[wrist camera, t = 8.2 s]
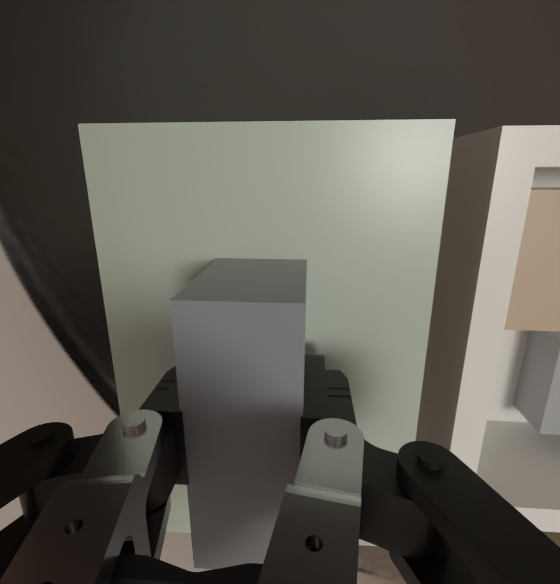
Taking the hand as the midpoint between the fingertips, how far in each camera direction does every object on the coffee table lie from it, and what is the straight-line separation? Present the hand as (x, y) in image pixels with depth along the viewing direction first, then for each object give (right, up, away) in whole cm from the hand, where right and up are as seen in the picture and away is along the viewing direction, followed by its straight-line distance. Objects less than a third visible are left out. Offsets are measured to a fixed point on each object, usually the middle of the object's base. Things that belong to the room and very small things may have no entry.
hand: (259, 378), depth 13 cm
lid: (0, +1, +3) cm, 3 cm away
